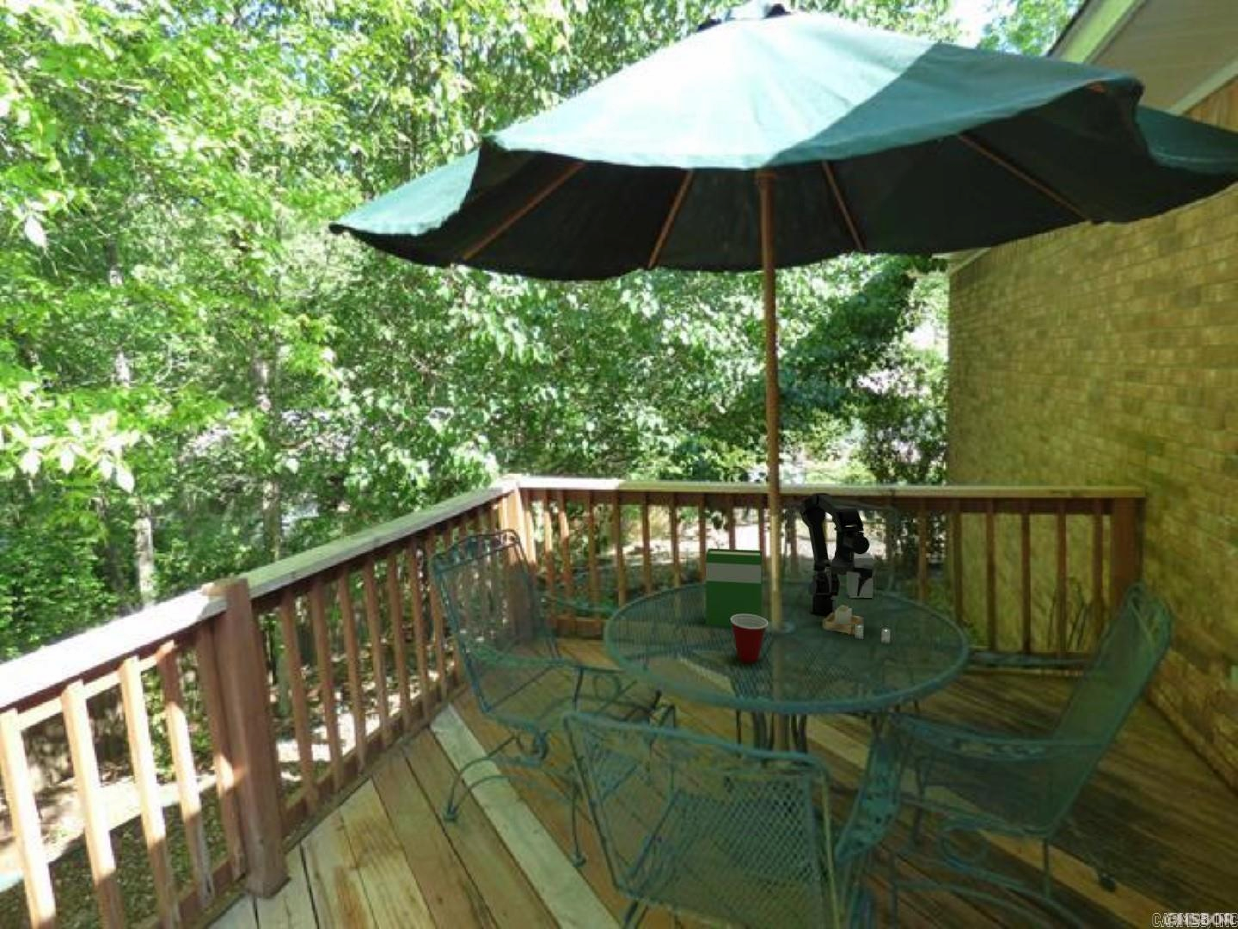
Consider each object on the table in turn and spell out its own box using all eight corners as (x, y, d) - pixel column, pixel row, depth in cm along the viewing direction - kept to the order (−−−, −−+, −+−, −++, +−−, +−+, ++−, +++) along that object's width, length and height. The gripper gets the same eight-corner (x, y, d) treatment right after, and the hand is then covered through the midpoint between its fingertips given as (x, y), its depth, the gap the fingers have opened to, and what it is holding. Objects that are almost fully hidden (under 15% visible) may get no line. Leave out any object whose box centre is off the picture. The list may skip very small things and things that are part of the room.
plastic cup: (759, 669, 213) (760, 628, 211) (723, 661, 218) (724, 621, 217) (773, 656, 222) (774, 617, 220) (738, 649, 228) (739, 611, 226)
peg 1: (854, 638, 236) (854, 625, 236) (856, 635, 238) (856, 623, 238) (861, 639, 235) (862, 627, 234) (863, 637, 237) (864, 624, 236)
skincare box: (868, 594, 281) (870, 552, 279) (873, 600, 274) (874, 557, 272) (845, 593, 281) (846, 551, 279) (849, 599, 274) (850, 556, 272)
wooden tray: (821, 629, 244) (821, 622, 244) (832, 619, 254) (832, 612, 253) (854, 635, 238) (854, 627, 238) (863, 624, 248) (864, 617, 248)
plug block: (834, 625, 245) (834, 607, 244) (838, 621, 249) (839, 603, 248) (846, 628, 243) (847, 609, 242) (851, 623, 247) (851, 605, 246)
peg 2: (880, 642, 232) (881, 630, 231) (882, 640, 234) (882, 627, 233) (888, 644, 231) (889, 631, 230) (890, 641, 233) (891, 629, 232)
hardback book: (761, 621, 253) (762, 550, 250) (760, 628, 246) (761, 556, 243) (708, 617, 257) (708, 548, 254) (705, 625, 249) (706, 553, 246)
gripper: (808, 548, 241) (807, 596, 243) (868, 555, 231) (867, 605, 233) (819, 541, 250) (818, 587, 252) (877, 548, 240) (876, 596, 242)
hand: (843, 594), depth 245 cm, fingers open, 9 cm apart
